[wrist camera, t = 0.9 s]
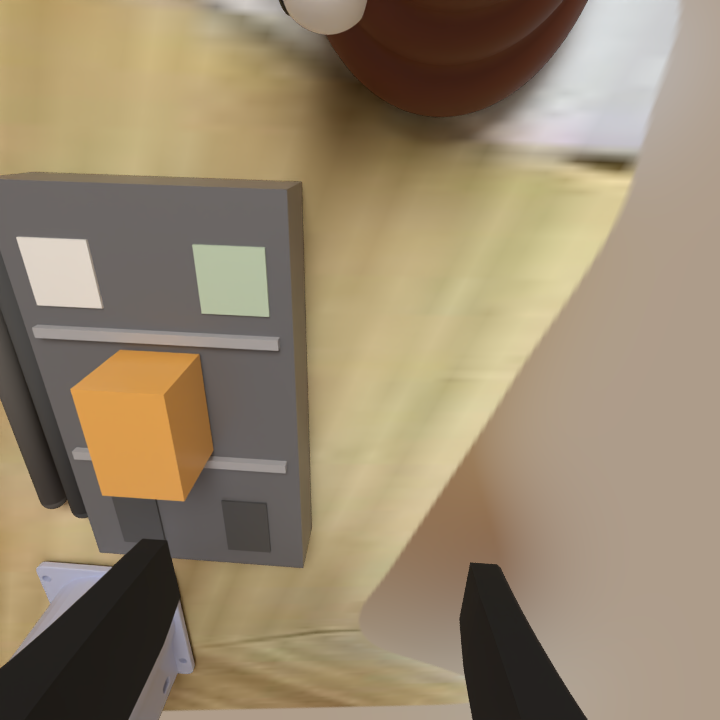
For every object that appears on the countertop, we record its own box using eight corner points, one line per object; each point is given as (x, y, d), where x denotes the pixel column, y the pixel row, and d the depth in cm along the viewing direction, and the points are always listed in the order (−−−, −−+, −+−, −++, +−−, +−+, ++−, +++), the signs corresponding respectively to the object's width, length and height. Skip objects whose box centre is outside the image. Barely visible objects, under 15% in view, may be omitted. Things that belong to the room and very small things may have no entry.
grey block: (311, 527, 24) (302, 573, 21) (126, 513, 24) (96, 557, 22) (301, 181, 16) (284, 190, 14) (31, 171, 17) (-32, 179, 14)
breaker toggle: (213, 450, 19) (184, 501, 16) (142, 445, 19) (102, 495, 16) (199, 354, 17) (163, 394, 14) (120, 349, 17) (70, 389, 14)
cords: (105, 506, 24) (91, 524, 23) (56, 503, 24) (40, 520, 23) (11, 196, 17) (-15, 201, 16) (-57, 193, 17) (-87, 198, 16)
